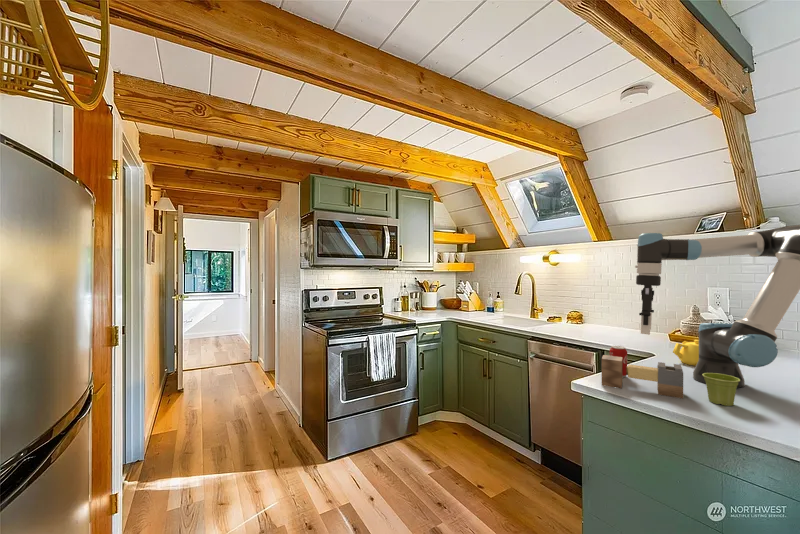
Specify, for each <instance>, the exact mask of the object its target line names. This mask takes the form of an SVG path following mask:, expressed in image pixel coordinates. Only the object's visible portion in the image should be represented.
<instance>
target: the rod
mask: <svg viewBox="0 0 800 534" xmlns="http://www.w3.org/2000/svg"><path fill="white" fill-rule="evenodd" d="M666 370H669V369H666ZM674 371H675V370H674ZM626 375H627V377H628V379H637V380H642V381H643V380H644V381H647V382H648V381H650V382H656V383H657V382H658V368H657V367H654V366H653V367H651V366H643V365H637V364H628V363H627V366H626Z"/></svg>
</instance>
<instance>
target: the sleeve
mask: <svg viewBox="0 0 800 534" xmlns="http://www.w3.org/2000/svg"><path fill="white" fill-rule="evenodd" d="M656 368H658V382H656V385H657V395H658V396H665V397H671V398H676V399H682V400H683V399H684V370H683V367H682V365H681V364H678V363H673V366H672V365H666V362H661V361H660V362H659V361H658V362H657V366H656ZM666 369H669V370H666ZM674 370H675V371H674Z"/></svg>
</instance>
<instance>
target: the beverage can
mask: <svg viewBox="0 0 800 534" xmlns="http://www.w3.org/2000/svg"><path fill="white" fill-rule="evenodd" d="M609 356H617V357H623V362H622V379H623V378H626V377H628V375H626V366H628V350H627V348H626V347H625V346H621V345H611V346H610V348H609Z"/></svg>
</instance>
